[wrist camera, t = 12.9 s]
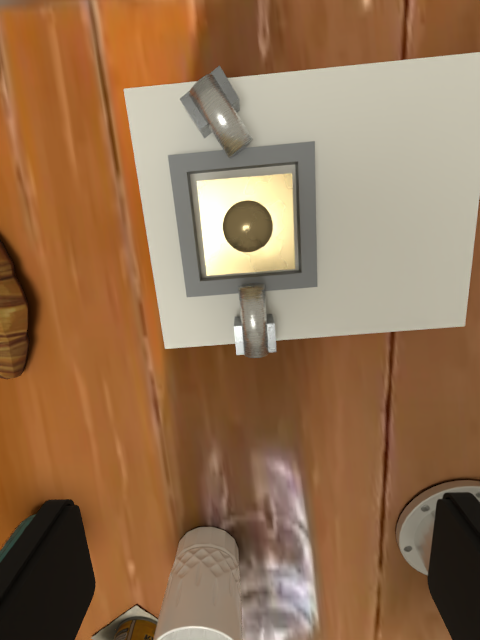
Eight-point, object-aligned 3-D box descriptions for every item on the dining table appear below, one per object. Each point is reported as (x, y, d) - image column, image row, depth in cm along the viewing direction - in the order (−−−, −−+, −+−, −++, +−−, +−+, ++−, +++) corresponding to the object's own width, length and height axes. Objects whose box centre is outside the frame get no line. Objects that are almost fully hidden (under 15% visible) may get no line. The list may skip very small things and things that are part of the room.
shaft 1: (258, 141, 25) (261, 129, 22) (223, 168, 26) (220, 161, 23) (222, 81, 24) (218, 60, 21) (186, 111, 25) (177, 94, 21)
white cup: (221, 511, 37) (212, 614, 27) (255, 559, 39) (259, 671, 29) (159, 537, 38) (131, 646, 28) (196, 583, 40) (181, 699, 30)
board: (486, 56, 24) (512, 40, 22) (457, 322, 30) (476, 332, 28) (128, 93, 25) (116, 80, 23) (167, 344, 31) (161, 355, 29)
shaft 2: (231, 281, 28) (229, 290, 25) (269, 278, 28) (273, 286, 25) (237, 343, 30) (236, 359, 27) (273, 340, 30) (277, 356, 27)
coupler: (283, 180, 26) (293, 172, 21) (286, 259, 28) (296, 270, 23) (205, 187, 26) (195, 180, 21) (213, 265, 28) (205, 277, 23)
